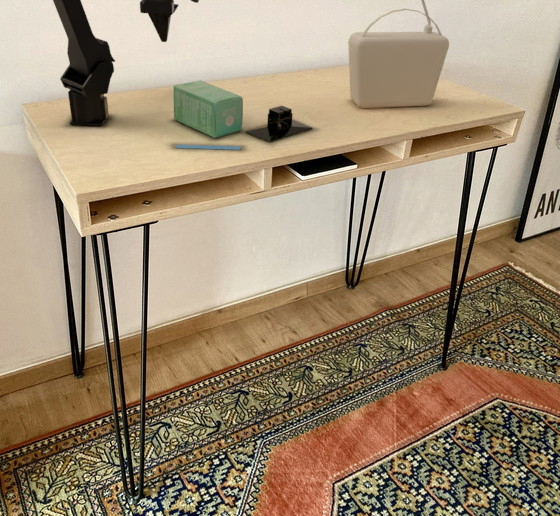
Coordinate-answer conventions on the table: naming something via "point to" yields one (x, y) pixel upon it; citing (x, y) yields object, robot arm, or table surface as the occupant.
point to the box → (208, 108)
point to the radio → (396, 66)
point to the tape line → (209, 147)
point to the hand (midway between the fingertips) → (164, 41)
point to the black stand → (279, 126)
